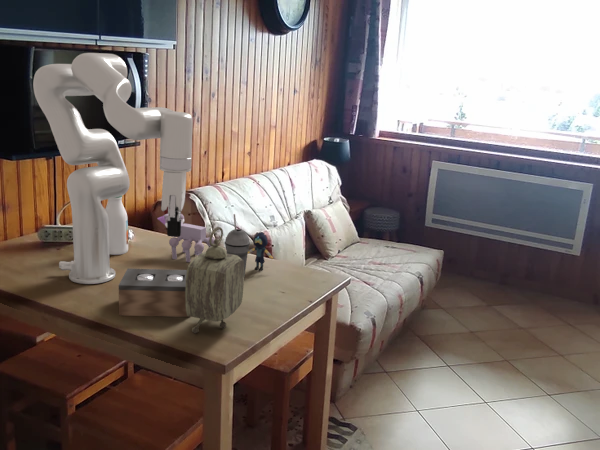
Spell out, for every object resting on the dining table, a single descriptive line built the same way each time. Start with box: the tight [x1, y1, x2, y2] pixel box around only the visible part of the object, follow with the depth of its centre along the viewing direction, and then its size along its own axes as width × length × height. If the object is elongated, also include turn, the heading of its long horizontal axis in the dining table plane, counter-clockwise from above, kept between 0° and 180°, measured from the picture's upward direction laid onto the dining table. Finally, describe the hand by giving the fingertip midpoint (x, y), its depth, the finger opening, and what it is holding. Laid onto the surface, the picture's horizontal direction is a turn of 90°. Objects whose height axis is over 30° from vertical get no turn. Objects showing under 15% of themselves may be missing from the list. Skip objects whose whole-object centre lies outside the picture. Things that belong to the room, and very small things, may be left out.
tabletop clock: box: [185, 226, 245, 334], centre depth 144 cm, size 14×9×25 cm, turn 163°
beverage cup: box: [224, 213, 251, 277], centre depth 176 cm, size 7×7×20 cm
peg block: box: [118, 267, 190, 318], centre depth 156 cm, size 18×12×8 cm
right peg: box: [167, 275, 183, 281], centre depth 156 cm, size 4×4×8 cm
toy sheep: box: [156, 213, 216, 263], centre depth 194 cm, size 20×11×14 cm, turn 66°
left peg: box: [137, 274, 153, 281], centre depth 156 cm, size 4×4×8 cm
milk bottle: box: [104, 195, 129, 256], centre depth 194 cm, size 8×8×20 cm
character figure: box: [247, 232, 274, 272], centre depth 187 cm, size 9×4×12 cm, turn 67°
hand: (174, 235), depth 153 cm, fingers closed
